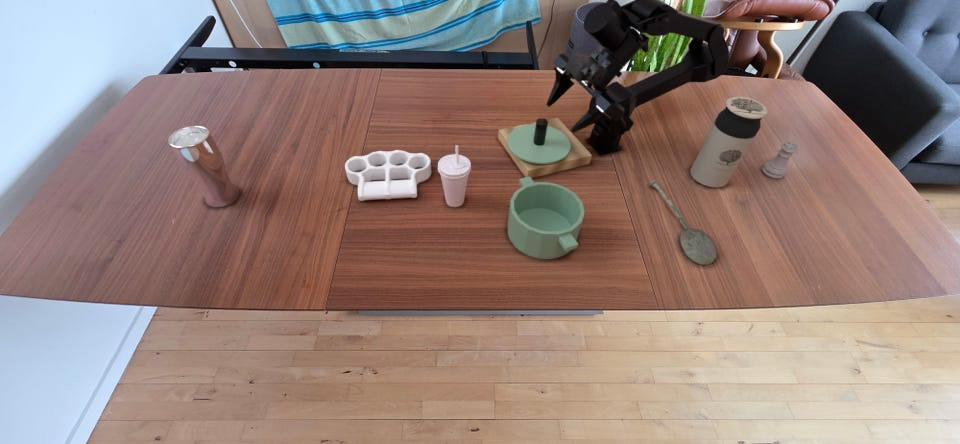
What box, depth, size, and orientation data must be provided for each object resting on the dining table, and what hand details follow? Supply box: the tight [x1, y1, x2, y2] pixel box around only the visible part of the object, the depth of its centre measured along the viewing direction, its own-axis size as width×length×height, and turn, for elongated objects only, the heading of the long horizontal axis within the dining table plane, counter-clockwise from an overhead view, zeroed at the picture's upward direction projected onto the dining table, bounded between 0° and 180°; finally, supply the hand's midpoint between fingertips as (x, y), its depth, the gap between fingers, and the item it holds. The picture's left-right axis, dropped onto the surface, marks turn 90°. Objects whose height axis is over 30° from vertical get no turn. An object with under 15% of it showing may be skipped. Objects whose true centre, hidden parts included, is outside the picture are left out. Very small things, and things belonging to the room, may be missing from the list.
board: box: [497, 117, 593, 179], centre depth 100 cm, size 16×16×2 cm
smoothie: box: [437, 144, 472, 208], centre depth 83 cm, size 6×6×14 cm
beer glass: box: [167, 125, 240, 208], centre depth 82 cm, size 7×7×15 cm
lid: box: [507, 118, 571, 164], centre depth 96 cm, size 14×14×7 cm
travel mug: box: [689, 96, 768, 188], centre depth 90 cm, size 8×8×18 cm
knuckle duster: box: [344, 149, 432, 202], centre depth 91 cm, size 3×18×15 cm
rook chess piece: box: [762, 140, 799, 180], centre depth 95 cm, size 4×4×8 cm
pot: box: [507, 176, 586, 260], centre depth 81 cm, size 13×19×7 cm
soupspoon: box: [649, 179, 718, 266], centre depth 85 cm, size 22×3×7 cm
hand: (559, 118), depth 92 cm, fingers open, 9 cm apart
